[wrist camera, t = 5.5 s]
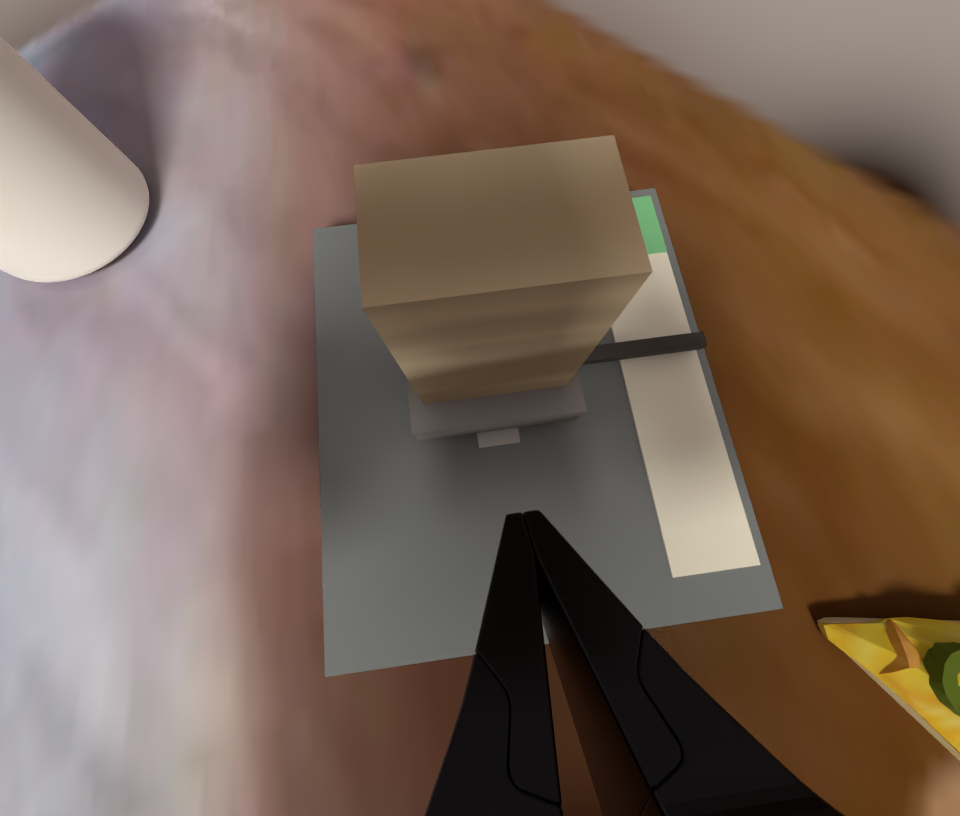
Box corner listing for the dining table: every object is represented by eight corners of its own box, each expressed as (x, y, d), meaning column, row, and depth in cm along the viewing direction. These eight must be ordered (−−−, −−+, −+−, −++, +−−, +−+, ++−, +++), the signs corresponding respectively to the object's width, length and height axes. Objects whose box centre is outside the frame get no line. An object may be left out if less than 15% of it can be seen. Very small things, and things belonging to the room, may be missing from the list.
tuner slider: (717, 401, 14) (1019, 278, 6) (420, 441, 14) (334, 367, 6) (682, 288, 15) (899, 62, 7) (408, 322, 15) (324, 126, 7)
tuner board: (742, 593, 15) (790, 611, 12) (346, 652, 14) (321, 681, 12) (636, 220, 19) (658, 182, 17) (330, 257, 18) (309, 224, 16)
